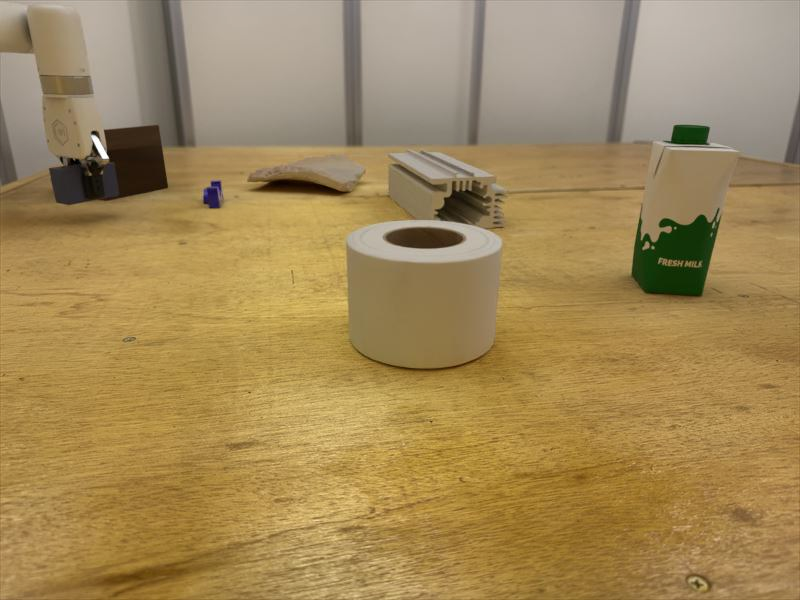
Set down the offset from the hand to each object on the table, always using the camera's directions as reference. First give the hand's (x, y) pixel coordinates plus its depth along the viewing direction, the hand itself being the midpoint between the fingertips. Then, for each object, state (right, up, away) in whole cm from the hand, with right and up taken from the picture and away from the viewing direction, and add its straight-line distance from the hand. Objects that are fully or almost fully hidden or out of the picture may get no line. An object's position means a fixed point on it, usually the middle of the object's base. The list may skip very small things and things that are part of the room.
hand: (88, 195), depth 99 cm
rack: (-9, +6, +26) cm, 28 cm away
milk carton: (+92, -17, -26) cm, 97 cm away
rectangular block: (0, -1, 0) cm, 1 cm away
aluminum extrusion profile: (+65, -1, +12) cm, 66 cm away
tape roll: (+59, -23, -41) cm, 75 cm away
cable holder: (+18, +1, +14) cm, 23 cm away
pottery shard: (+35, +8, +33) cm, 49 cm away
